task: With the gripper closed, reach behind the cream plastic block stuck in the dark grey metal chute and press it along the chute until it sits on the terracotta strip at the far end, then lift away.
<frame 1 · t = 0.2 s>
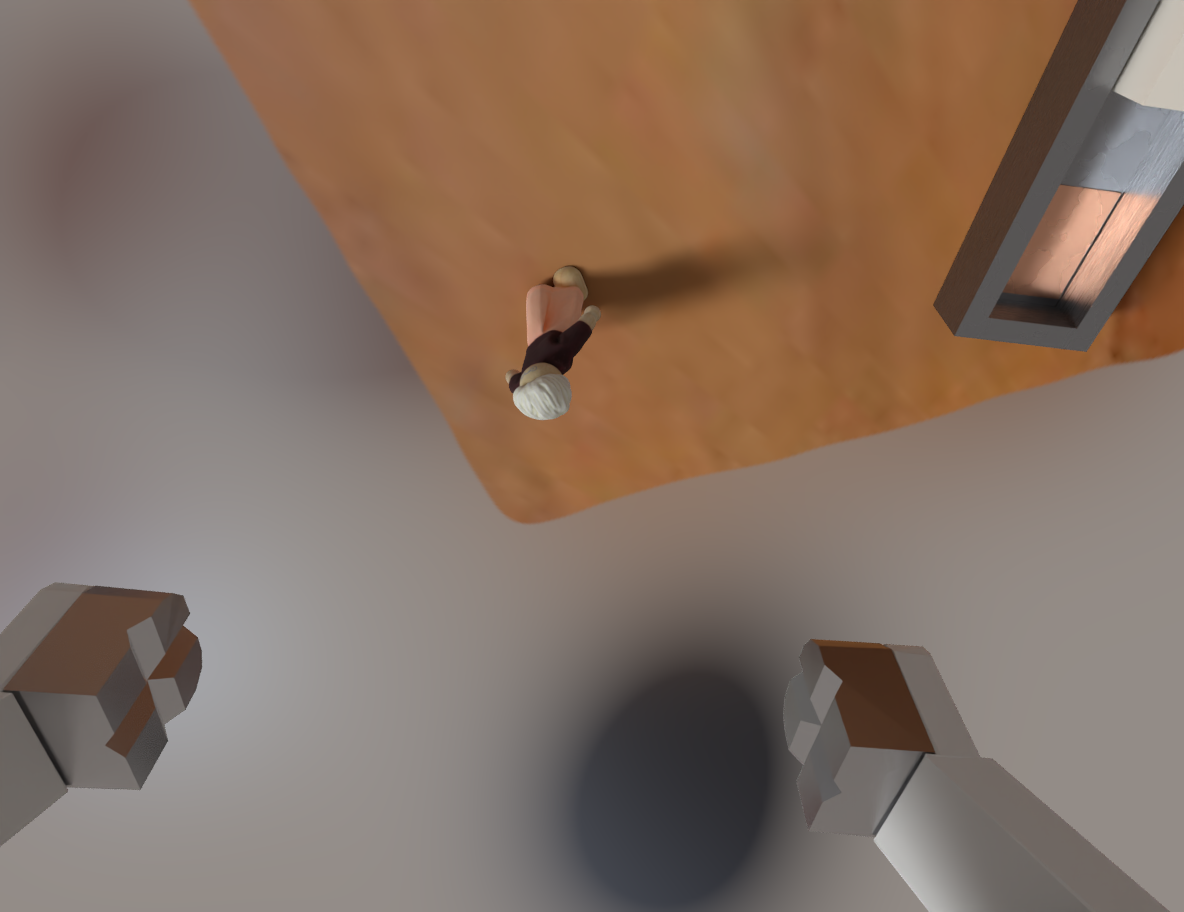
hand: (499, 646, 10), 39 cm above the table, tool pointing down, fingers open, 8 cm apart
chute: (1095, 127, 41), on the table
grandmother figurine: (553, 298, 49), on the table
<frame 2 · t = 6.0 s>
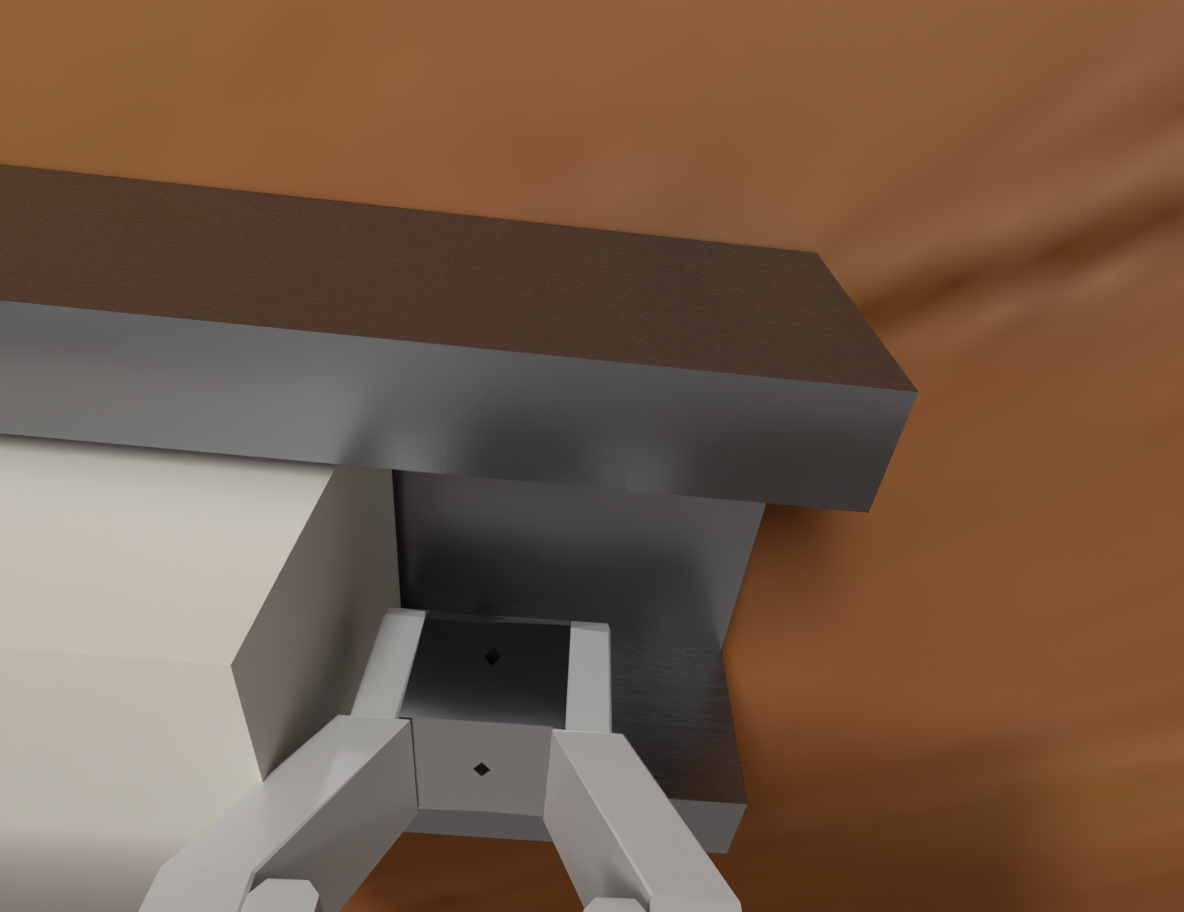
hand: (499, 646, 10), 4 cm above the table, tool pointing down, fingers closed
jammed block: (150, 620, 9), point 4 cm above the table, slide at 1.4 cm, touching gripper
chute: (47, 432, 12), on the table
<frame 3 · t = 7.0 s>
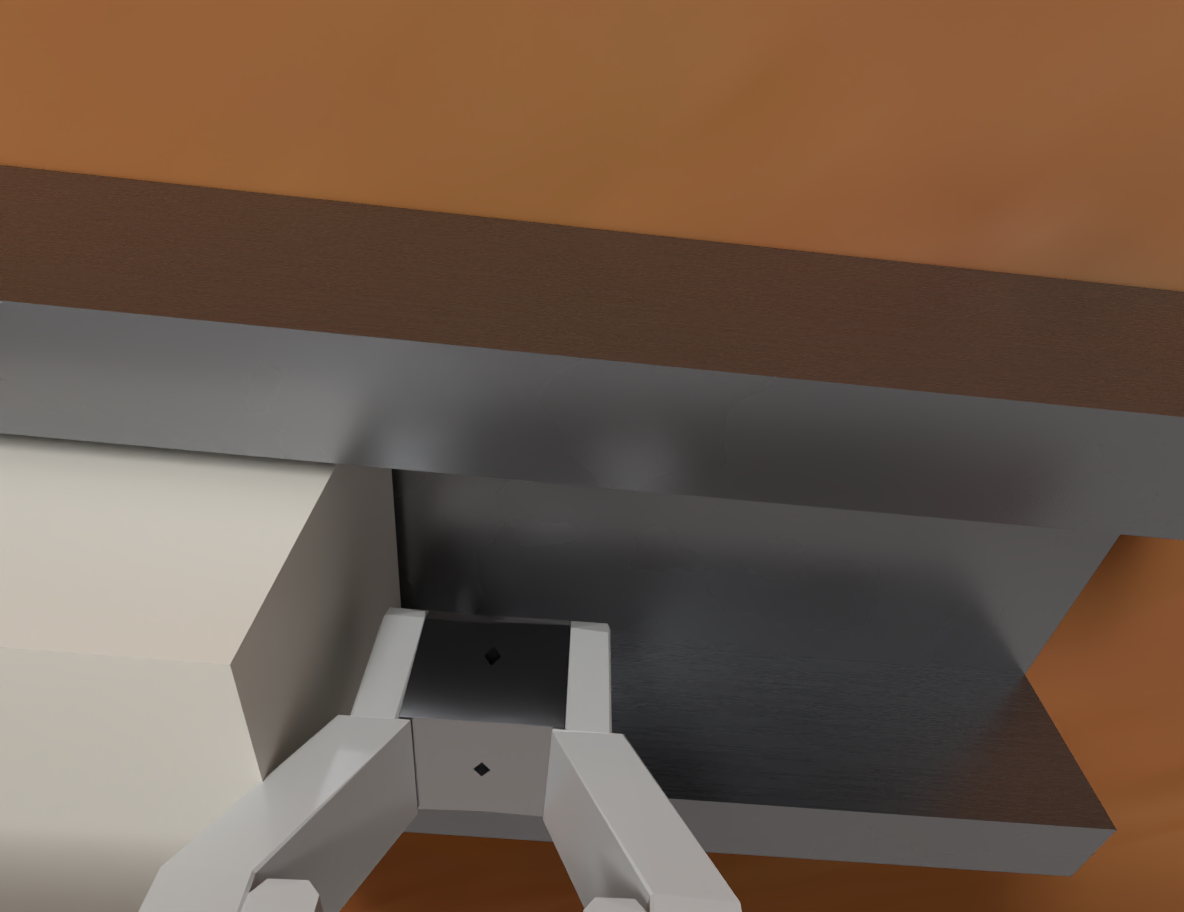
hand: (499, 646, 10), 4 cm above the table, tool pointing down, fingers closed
jammed block: (150, 619, 9), point 4 cm above the table, slide at 7.3 cm, touching gripper
chute: (400, 464, 12), on the table
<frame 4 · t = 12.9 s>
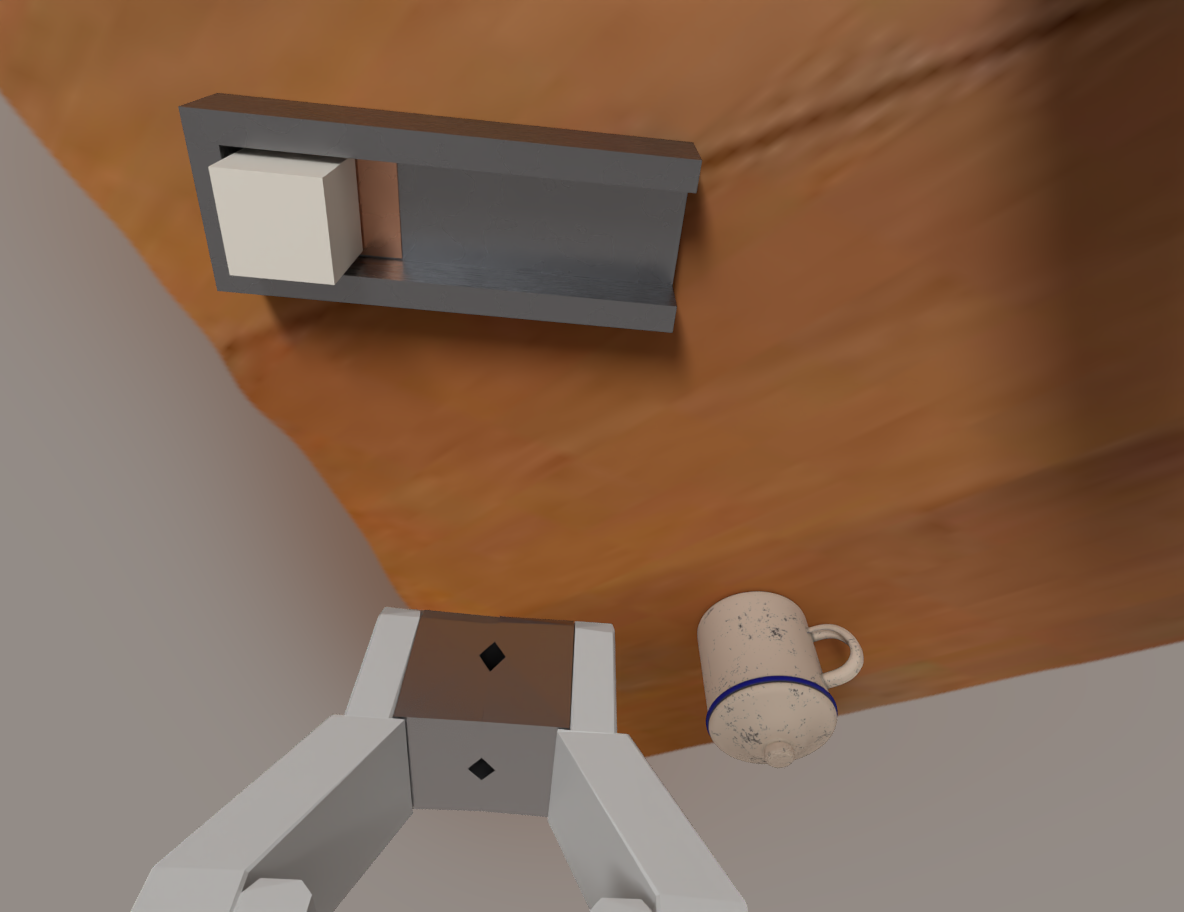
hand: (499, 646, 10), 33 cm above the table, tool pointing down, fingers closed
jammed block: (293, 212, 35), point 4 cm above the table, slide at 12.5 cm
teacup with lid: (767, 619, 57), on the table
chute: (459, 206, 39), on the table
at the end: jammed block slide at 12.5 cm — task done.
